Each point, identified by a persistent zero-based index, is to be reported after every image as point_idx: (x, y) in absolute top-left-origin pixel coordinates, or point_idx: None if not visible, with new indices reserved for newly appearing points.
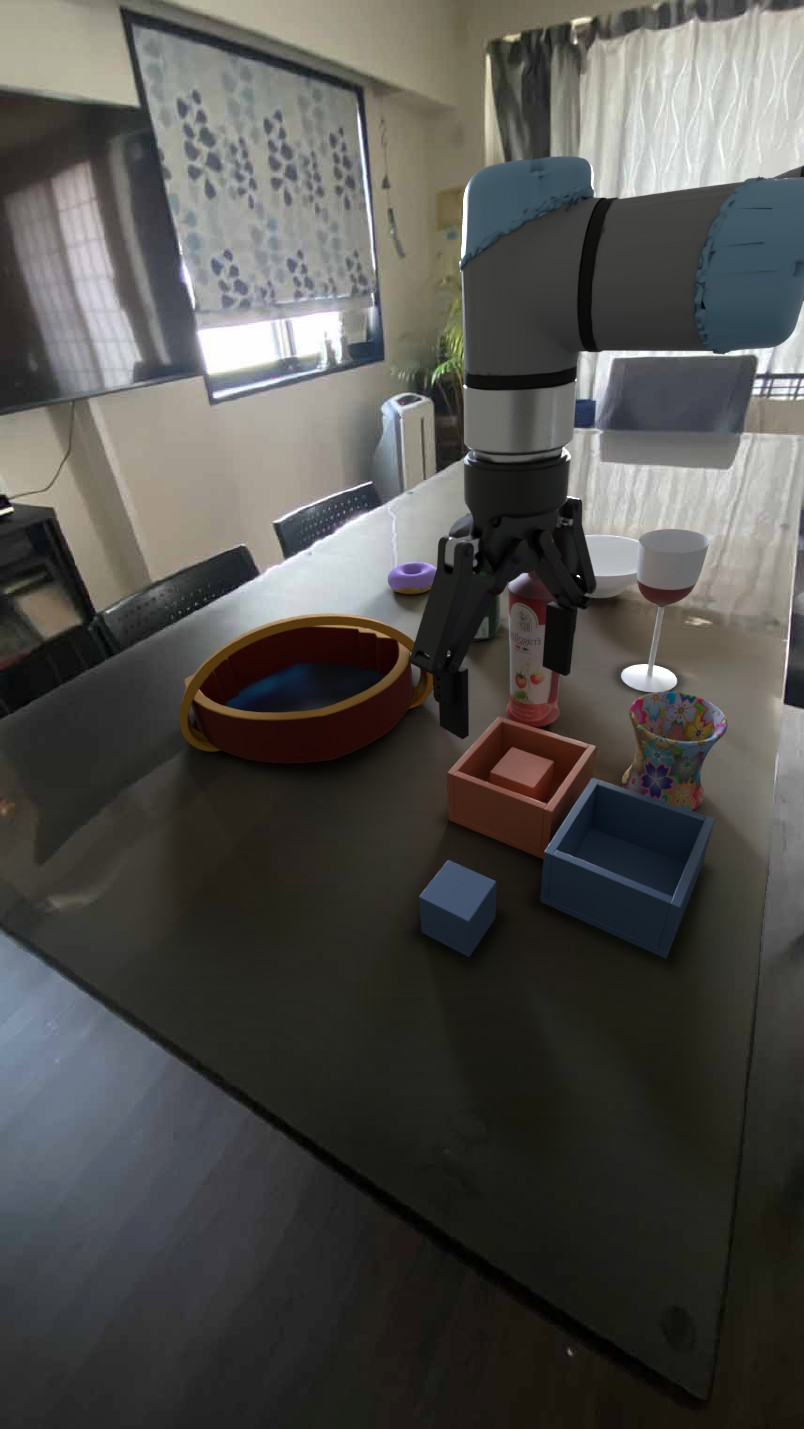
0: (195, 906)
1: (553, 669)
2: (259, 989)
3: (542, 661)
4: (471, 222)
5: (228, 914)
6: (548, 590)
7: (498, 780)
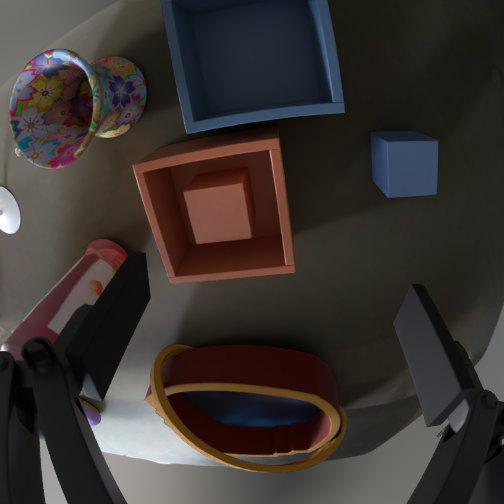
0: (453, 314)
1: (147, 279)
2: (488, 240)
3: (82, 298)
4: None
5: (453, 296)
6: (92, 431)
7: (251, 224)
